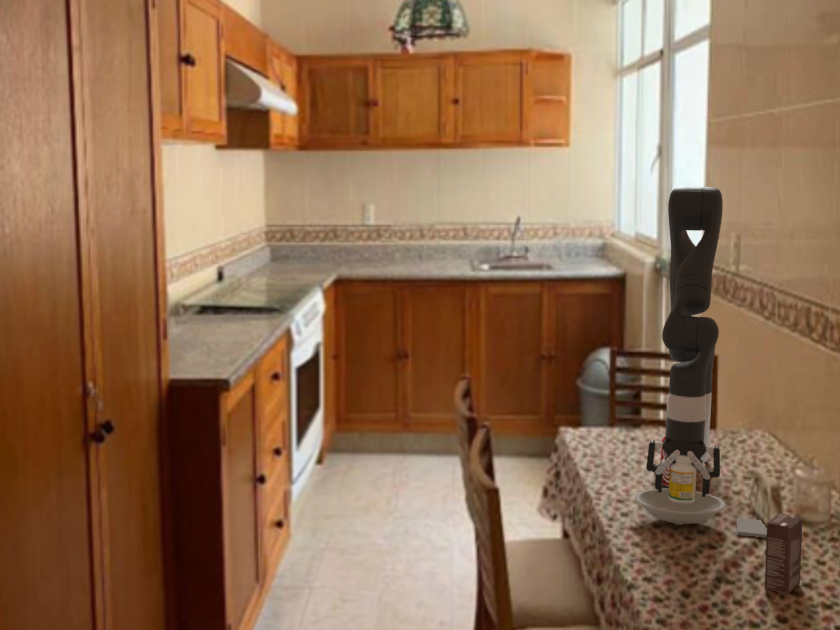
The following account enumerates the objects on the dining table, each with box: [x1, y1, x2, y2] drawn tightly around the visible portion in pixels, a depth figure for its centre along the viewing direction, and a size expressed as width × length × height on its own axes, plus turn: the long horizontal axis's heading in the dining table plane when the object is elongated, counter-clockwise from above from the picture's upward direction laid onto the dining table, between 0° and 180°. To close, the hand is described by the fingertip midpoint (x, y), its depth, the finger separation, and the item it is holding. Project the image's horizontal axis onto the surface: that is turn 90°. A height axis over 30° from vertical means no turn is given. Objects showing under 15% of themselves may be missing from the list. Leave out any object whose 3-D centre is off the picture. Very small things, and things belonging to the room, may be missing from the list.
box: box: [764, 512, 803, 595], centre depth 170 cm, size 6×4×12 cm
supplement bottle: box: [668, 455, 698, 504], centre depth 199 cm, size 5×5×10 cm
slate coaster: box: [736, 517, 767, 539], centre depth 197 cm, size 8×8×1 cm
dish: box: [634, 488, 726, 526], centre depth 200 cm, size 18×14×5 cm
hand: (681, 493), depth 200 cm, fingers open, 8 cm apart
